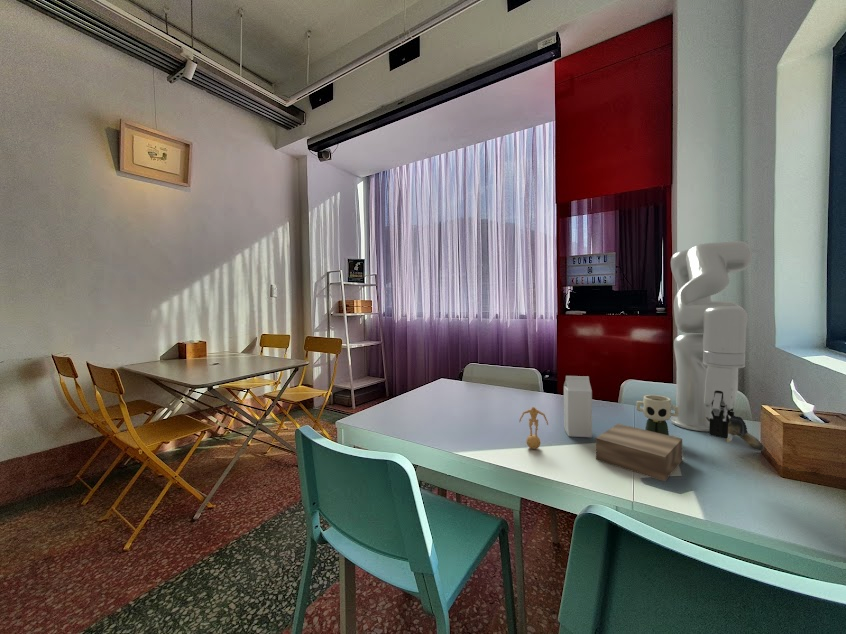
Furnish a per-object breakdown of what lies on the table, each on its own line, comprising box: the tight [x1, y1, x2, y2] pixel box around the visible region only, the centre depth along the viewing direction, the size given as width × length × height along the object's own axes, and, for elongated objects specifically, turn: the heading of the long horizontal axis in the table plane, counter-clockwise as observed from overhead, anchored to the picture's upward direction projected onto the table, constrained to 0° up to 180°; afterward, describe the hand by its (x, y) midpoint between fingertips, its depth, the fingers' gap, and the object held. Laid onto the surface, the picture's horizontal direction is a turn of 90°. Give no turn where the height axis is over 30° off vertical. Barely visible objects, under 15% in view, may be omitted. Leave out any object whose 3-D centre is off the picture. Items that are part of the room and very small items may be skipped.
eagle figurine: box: [706, 415, 764, 452], centre depth 79 cm, size 8×7×9 cm
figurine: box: [519, 406, 549, 450], centre depth 103 cm, size 8×6×12 cm
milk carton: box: [563, 375, 593, 438], centre depth 113 cm, size 7×7×19 cm
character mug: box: [636, 394, 679, 436], centre depth 107 cm, size 11×7×13 cm, turn 53°
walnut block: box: [595, 423, 683, 482], centre depth 93 cm, size 16×16×6 cm
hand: (721, 431), depth 82 cm, fingers closed on eagle figurine, 7 cm apart
